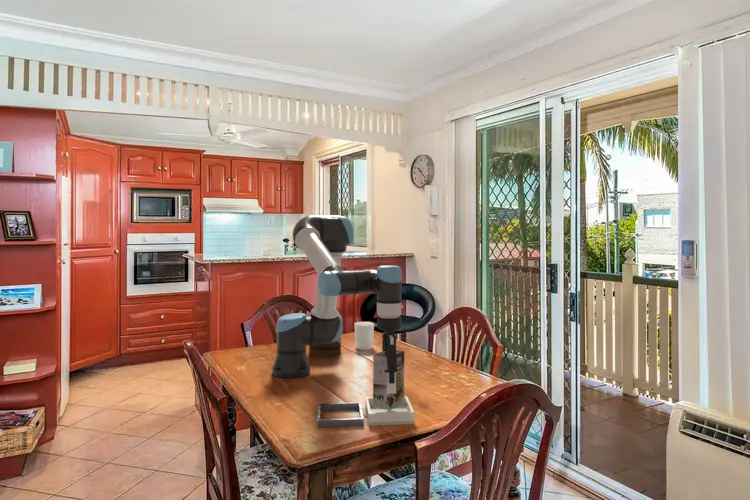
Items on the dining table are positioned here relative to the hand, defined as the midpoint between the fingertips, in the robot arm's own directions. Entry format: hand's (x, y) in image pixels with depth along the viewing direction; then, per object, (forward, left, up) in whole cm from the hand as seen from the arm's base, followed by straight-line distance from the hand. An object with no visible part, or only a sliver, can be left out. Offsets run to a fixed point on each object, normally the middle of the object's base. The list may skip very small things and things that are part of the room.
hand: (388, 387), depth 142 cm
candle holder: (-2, +85, -9) cm, 86 cm away
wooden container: (-21, +77, -9) cm, 80 cm away
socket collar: (-15, 0, -9) cm, 17 cm away
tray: (0, 0, -9) cm, 9 cm away
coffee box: (0, 0, -6) cm, 6 cm away
